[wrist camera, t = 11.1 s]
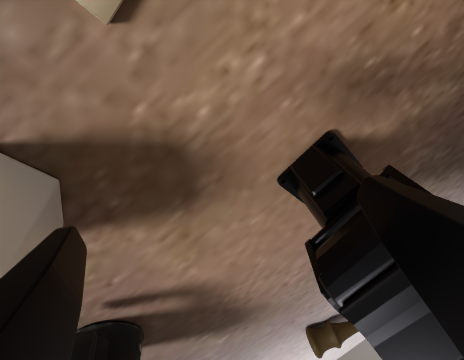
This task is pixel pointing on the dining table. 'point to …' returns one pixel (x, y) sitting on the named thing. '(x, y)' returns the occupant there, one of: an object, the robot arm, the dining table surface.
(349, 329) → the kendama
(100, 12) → the knob on square plate
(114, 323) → the milk frother
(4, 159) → the jar
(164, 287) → the dining table surface
